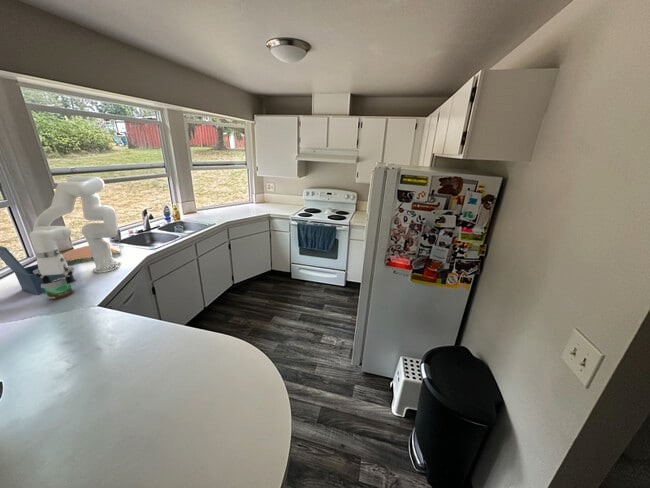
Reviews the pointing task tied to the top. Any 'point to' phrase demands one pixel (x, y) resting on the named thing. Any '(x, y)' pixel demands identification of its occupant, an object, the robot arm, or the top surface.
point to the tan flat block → (85, 253)
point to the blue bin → (34, 280)
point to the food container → (57, 288)
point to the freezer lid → (12, 261)
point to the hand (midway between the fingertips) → (59, 283)
